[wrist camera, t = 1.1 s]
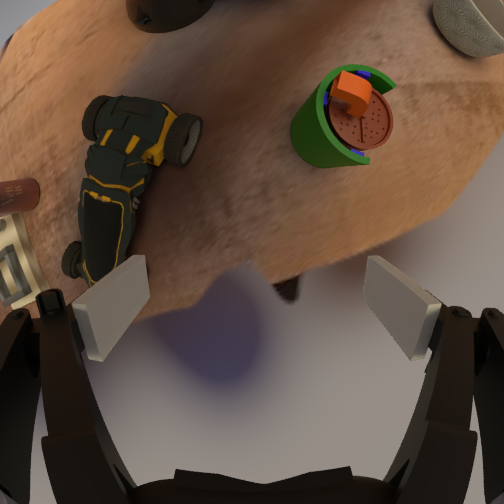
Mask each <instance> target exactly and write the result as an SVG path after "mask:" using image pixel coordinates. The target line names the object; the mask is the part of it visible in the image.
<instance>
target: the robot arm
mask: <svg viewBox="0 0 504 504" xmlns="http://www.w3.org/2000/svg"><path fill="white" fill-rule="evenodd" d="M213 2H214V0H126V7H127V13H128V16H129V18H130V20H131V21H132V22H133V23H134V25H135V26H136V27H137V28H139V29H141V30H143V31H146V32H152V33H161V32H168V31H173V30H176V29H179V28H182V27H184V26H187V25H189V24H191V23H192V22H194V21H196V20H197V19H199V18H200V17H201V16H203V15H204V14H205V13H206V12H207V11H208V10H209V9H210V7H211V6H212V4H213ZM35 299H36V303H37V306H38V310H39V313H40V318H34V319H31V315H30V312H29V310H28V309H26V308H20V309H19V308H17V309H14V310H12V312H10V313H9V314H8V315H7V316H6V318H5V319H4V321H3V322H2V324H1V325H0V504H29V501H30V469H31V452H32V441H33V431H34V424H35V417H36V411H37V404H38V400H39V394H40V390H41V386H42V396H43V405H44V412H45V419H46V425H47V431H48V436H44V437H42V439H41V445H42V451H43V455H44V460H45V464H46V468H47V472H48V476H49V480H50V483H51V487H52V490H53V493H54V496H55V499H56V502H57V504H463V502H464V499H465V496H466V492H467V489H468V485H469V481H470V477H471V473H472V467H473V463H474V458H475V452H476V446H477V440H478V439H477V437H478V436H477V432H476V431H471V430H469V428H470V421H471V412H472V402H473V396H474V401H475V406H476V411H477V417H478V422H479V430H480V437H481V445H482V456H483V472H484V473H483V474H484V495H485V502H486V504H504V314H503V313H502V312H500V311H499V310H498V309H496V308H485V309H483V311H482V314H481V317H480V318H472V315H471V313H470V312H469V311H468V310H466V309H464V308H463V307H459V306H450V307H447V306H446V305H444V304H443V303H442V302H441V301H440V300H438V299H437V298H436V297H435V296H432V294H431V293H429V292H428V291H427V290H425V289H423V288H422V287H421V286H419V285H418V284H417V283H415V282H414V281H413V280H411V279H410V278H409V277H408V276H406V275H405V274H404V273H402V272H401V271H399V270H398V269H397V268H395V267H394V266H393V265H391V264H390V263H389V262H387V261H386V260H384V259H383V258H381V257H380V256H368V259H367V268H366V275H365V282H364V288H363V295H362V299H363V300H364V301H365V303H366V304H367V305H368V306H369V307H370V309H371V310H372V311H373V313H374V314H375V315H376V316H377V318H378V319H379V320H380V322H381V323H382V324H383V325H384V327H385V328H386V329H387V330H388V332H389V333H390V334H391V336H392V337H393V338H394V340H395V341H396V342H397V344H398V345H399V346H400V348H401V349H402V350H403V352H404V353H405V354H406V356H407V357H408V359H409V360H410V361H415V360H420V359H424V357H425V354H426V352H427V349H428V347H429V348H430V349H431V351H432V354H431V357H430V360H429V362H428V364H427V367H426V369H425V373H426V375H425V379H424V382H423V386H422V389H421V392H420V396H419V398H418V402H417V404H416V407H415V410H414V413H413V416H412V419H411V421H410V424H409V427H408V429H407V431H406V434H405V437H404V439H403V441H402V443H401V446H400V448H399V450H398V452H397V455H396V457H395V459H394V461H393V463H392V465H391V467H390V469H389V471H388V473H387V475H386V476H385V478H384V479H383V481H381V480H378V479H375V478H369V477H363V476H353V475H352V471H351V468H350V466H348V467H342V468H336V469H330V470H323V471H315V472H308V473H305V474H302V475H299V476H296V477H292V478H288V479H285V480H281V481H277V482H272V483H268V484H259V483H254V482H249V481H245V480H240V479H236V478H232V477H228V476H224V475H221V474H214V473H203V472H194V471H186V470H179V469H176V470H175V475H174V479H166V480H158V481H154V482H149V483H146V484H143V485H140V486H138V487H137V485H136V484H135V482H134V481H133V479H132V478H131V476H130V474H129V472H128V471H127V469H126V467H125V465H124V463H123V461H122V459H121V457H120V455H119V453H118V451H117V449H116V447H115V445H114V443H113V441H112V439H111V436H110V434H109V432H108V430H107V427H106V425H105V422H104V420H103V417H102V415H101V412H100V410H99V407H98V404H97V401H96V399H95V396H94V393H93V390H92V387H91V384H90V381H89V378H88V375H87V372H86V368H85V365H84V361H83V358H82V355H81V352H82V351H83V350H84V348H85V350H86V353H87V355H88V358H89V359H91V360H96V361H101V362H103V361H104V359H105V358H106V356H107V355H108V354H109V352H110V351H111V349H112V348H113V347H114V345H115V344H116V342H117V341H118V339H119V338H120V337H121V336H122V334H123V333H124V332H125V330H126V329H127V328H128V326H129V325H130V324H131V322H132V321H133V320H134V318H135V317H136V316H137V314H138V313H139V312H140V310H141V309H142V308H143V307H144V305H145V304H146V303H147V301H148V300H149V299H150V292H149V285H148V278H147V270H146V262H145V255H133V256H131V257H130V258H129V259H127V260H126V261H124V262H123V263H122V264H120V265H119V266H118V267H116V268H115V269H114V270H112V271H111V272H110V273H109V274H107V275H106V276H105V277H103V278H102V279H101V280H99V281H98V282H97V283H96V284H94V285H93V286H92V287H91V288H89V289H88V290H86V291H84V292H83V293H82V294H81V295H80V296H78V297H77V298H76V300H73V301H72V302H71V303H70V304H68V305H67V306H66V305H65V301H64V297H63V293H62V291H61V290H60V289H48V290H45V291H42V292H40V293H39V294H37V295H36V297H35Z"/></svg>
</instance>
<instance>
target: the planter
mask: <svg viewBox="0 0 504 504" xmlns="http://www.w3.org/2000/svg"><path fill="white" fill-rule="evenodd" d="M433 16H434V20H435V22H436V25H437V26H438V28H439V30H440V31H441V33H442V34H443V35H444V37H445V38H446V39H447V40H448V41H449V42H450V43H451V44H452V45H453V46H454V47H455V48H457V49H458V50H460V51H461V52H463V53H465V54H467V55H469V56H473V57H489V56H493V55H497V54H501V53H504V3H503V2H502V1H501V0H435V1H434V4H433Z"/></svg>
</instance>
